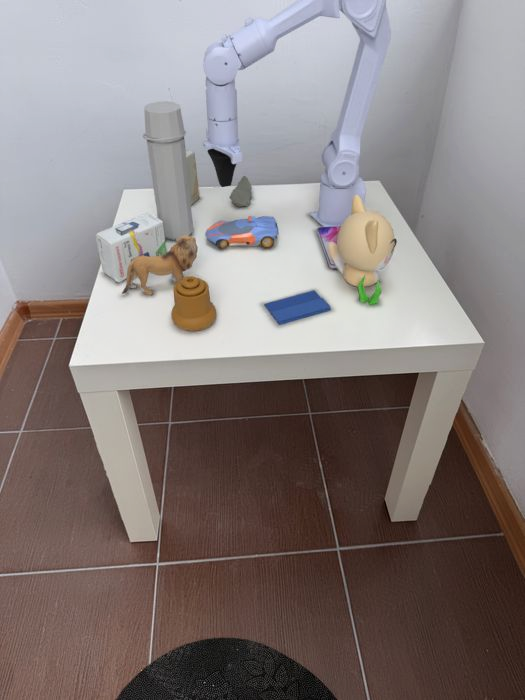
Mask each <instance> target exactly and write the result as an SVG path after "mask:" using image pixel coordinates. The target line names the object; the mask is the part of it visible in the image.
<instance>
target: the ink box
mask: <svg viewBox="0 0 525 700" xmlns="http://www.w3.org/2000/svg"><path fill="white" fill-rule="evenodd" d="M95 240H96V246H97V251H98V255H99V260H100V264H101V269H102V272H103V273H104V274H105V275H107V276H108V277H110V278H111V279H112V280H114V281H115V282H117V283H121V282H123V281H125V280H127V271H128V267H129V264H130V262H131V261H132V260H133V259H135V258H136V257H139V256H149V257H156V256H162V255H165V254H166V253H167V252H168V251H167V245H166V238H165V236H164V229H163V221H161V220H160V219H158V216H157V217H156V215H153V214H152V213H150V212H145V213H143V214H141V215H138V216H136V217H133V218H131V219H128V220H126V221H124V222H121V223H119V224H116V225H114V226H111V227H109V228H105V229H104V230H101V231H98V232H96V234H95ZM132 271H133V269H132ZM132 271H131V274H132Z"/></svg>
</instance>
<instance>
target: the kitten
mask: <svg viewBox="0 0 525 700" xmlns="http://www.w3.org/2000/svg"><path fill="white" fill-rule="evenodd" d="M397 243H398V240H397V238H395V232H394V229H393V226H392V225H391V222H390V221H389V220H388V219H387V217H386V216H384V215H383V214H381V213H379V212H377V211H375V210H369V209H366V208H365V204H364V205H363V202H362V199H361V198H360V196H358V195H355V196H354V197H353V200H352V209H351V216H349V217H348V218H347V219H346V220H345V222H344V223H343V224H342V226H341V228H340V231H339V233H338V237H337V245H336V244H335V243H334V242H330V243H329V244H328V253H329V255H330V257H331V258H332V259H333V261H334V263H335V265H336V267H337V268H336V269H337V270H338V272H339V273H340V274H342V277H343V279H344V280H345V281H346V282H347V283H348V284H349V285H351V286H353V287H357V288H358V294H359V298H360V299H359V302H361V303H363V304H364V303H366V302H368V306H371V305H374V304H378V302H379V299H380V297H381V294H382V293H381V292H382V290H381V284H380V279H381V278H380V273H379V271H382V270H383V269H384V268H385V267H386V266H387V265H388V264H389V262H390V261H391V260H392V256H393V254H394V251H395V249H396V246H397ZM341 258H342V259H343V260H344V261H345V262H346V263H347V264H346V265H345V264H344V262H343V261H342V259H341ZM374 284H376V287H375V289H374V292H373V293H372V294H371V296H370V297H368V295H367V292H366V290H365V288H367V287H371V286H373V285H374ZM364 287H365V288H364Z"/></svg>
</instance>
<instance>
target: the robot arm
mask: <svg viewBox="0 0 525 700" xmlns="http://www.w3.org/2000/svg"><path fill="white" fill-rule="evenodd" d="M340 12H341V13H342V15H344V16H345V18H347V20H348V21H350V22H351V25H352V27H353V28H354V30H355V32H356V34H357V36H358V37H359V43H358V46H357V50H356V53H355V57H354V61H353V64H352V67H351V68H352V69H351V72H350V76H349V80H348V84H347V87H346V91H345V95H344V98H343V102H342V105H341V110H340V113H339V117H338V120H337V124H336V128H335V129H334V130H333V132H332V133H331V135H330V139H329V141H328V142H327V144H326V145H325V146H324V148H323V150H322V152H321V162H322V164H323V166H324V168H325V169H324V170H323V173H322V174H321V175H320V184H319V185H320V186H319V196H318V205H317V210H315V211H311V212H310V213H309V215H310V216H311V217H312V218H313V219H314V220H315V221H316V222H317V223H318V224H319V225H321V227H331V226H342V224H343V223H344V222H345V220H346V219H347V218H348V217H349V216H351V209H352V200H353V197H354V196H355V195H358V196H360V198H361V199H362V202H363V205H364V206H365V203H366V194H367V188H366V183H365V181H364V179H363V178H362V177H361V176H359V175H360V165H359V160H360V156H361V137H362V135H363V131H364V127H365V125H366V121H367V117H368V115H369V111H370V108H371V105H372V100H373V98H374V94H375V92H376V88H377V86H378V85H377V84H378V81H379V78H380V75H381V72H382V68H383V65H384V62H385V59H386V55H387V51H388V49H389V45H390V42H391V38H392V30H391V23H390V18H389V14H388V9H387V0H296V1H294V2H293V3H292V4H290V5H289V6H287V7H286V8H284V9H283V10H281V11H280V12H278V13H277V14H276V15H274V16H272V17H271V18H270V19H268V18H267V19H266V18H264V17H261V16H257V17H255V18H252V16H249V17H247V18H246V19H244V25H243V26H241V27H240V28H238V29H237V30H235V31H233V32H232V33H230V34H229V35H228V36H227V34H226V33H225V34H223V35H221V36H220V40H221V41H214V42H212V43H211V44H209V45H208V46H207V48H206V50H205V51H204V55H203V71H204V74H205V76H206V77H205V87H206V89H205V100H206V101H205V103H206V104H205V105H206V117H207V118H206V119H207V128H206V129H205V134H206V139H207V140H203V142H202V145H203V147H204V148H206V149H208V150H207V154H208V156H209V157H210V160H211V162H212V163H213V167H214V171H215V173H216V178H217V181H218V184H219V186H220V187H222V188H225V187H231V186H232V183H233V177H234V175H235V174H234V173H235V169H236V167H237V165H238V164H242V163H243V152H242V151H241V146H240V139H239V131H238V91H237V88H236V76H237V74H238V71H243V70H245V69H247V68H249V67H250V66H252V65H254V64H255V63H257V62H258V61H260V60H262V59H263V58H265V57H267V56H268V55H270V54H271V53H273V52H274V51H275V50H276V49H275V48H276V44H277V42H278V40H279V39H281V38H283V37H284V36H286V35H289V34H290V33H292V32H294V31H296V30H297V29H299V28H301V27H303V26H305V25H306V24H308V23H310V22H312V21H313V20H315V19H317V18H319V17H325V18H333V19H340Z"/></svg>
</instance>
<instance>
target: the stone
mask: <svg viewBox="0 0 525 700" xmlns="http://www.w3.org/2000/svg"><path fill="white" fill-rule="evenodd" d="M252 188H253V187H252V184H251V182H250V180H249V178H248V176H246V175H243V176H242V177H241V178H240V180H239V181H238V182H237V185H236V186H235V188H234V189H232V191H231V193H230V195H229V197H228V198H229V199H230V201H231V202H232V203H233V204H234V205H235V206H236V207H238V208H242V207H249V206H250V205H251V199H252V191H251V190H252Z"/></svg>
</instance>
